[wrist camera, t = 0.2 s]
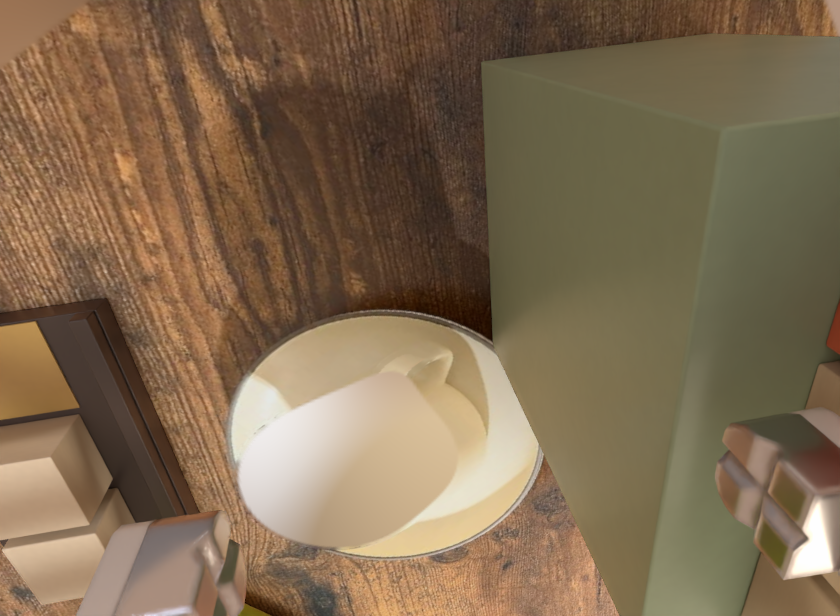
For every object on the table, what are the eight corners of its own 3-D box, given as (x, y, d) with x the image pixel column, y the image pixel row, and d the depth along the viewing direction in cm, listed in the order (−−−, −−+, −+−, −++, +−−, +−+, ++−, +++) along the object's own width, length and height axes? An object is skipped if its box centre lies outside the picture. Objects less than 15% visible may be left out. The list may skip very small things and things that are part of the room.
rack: (-122, 330, 24) (-206, 386, 20) (106, 297, 25) (65, 345, 21) (36, 560, 32) (-4, 631, 28) (207, 530, 32) (190, 595, 29)
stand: (480, 61, 22) (723, 127, 8) (711, 33, 23) (1312, 48, 9) (492, 346, 29) (636, 653, 15) (670, 318, 29) (971, 587, 15)
